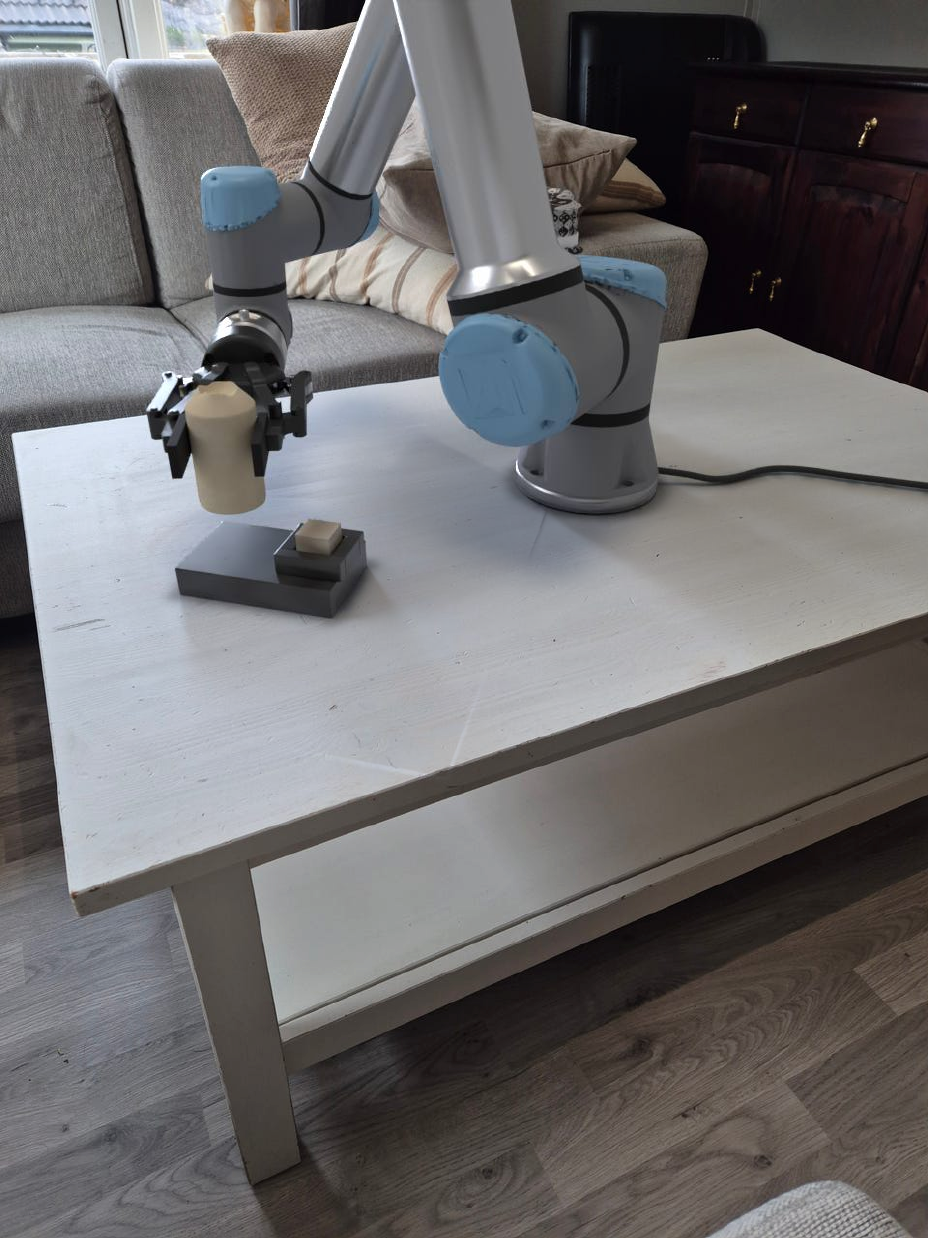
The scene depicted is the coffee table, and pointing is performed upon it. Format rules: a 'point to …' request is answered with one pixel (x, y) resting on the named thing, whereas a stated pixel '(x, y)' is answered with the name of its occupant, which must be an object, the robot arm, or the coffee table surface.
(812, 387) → the coffee table surface
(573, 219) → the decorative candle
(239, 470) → the candle
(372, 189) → the robot arm
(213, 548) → the grey stepped base
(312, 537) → the key
